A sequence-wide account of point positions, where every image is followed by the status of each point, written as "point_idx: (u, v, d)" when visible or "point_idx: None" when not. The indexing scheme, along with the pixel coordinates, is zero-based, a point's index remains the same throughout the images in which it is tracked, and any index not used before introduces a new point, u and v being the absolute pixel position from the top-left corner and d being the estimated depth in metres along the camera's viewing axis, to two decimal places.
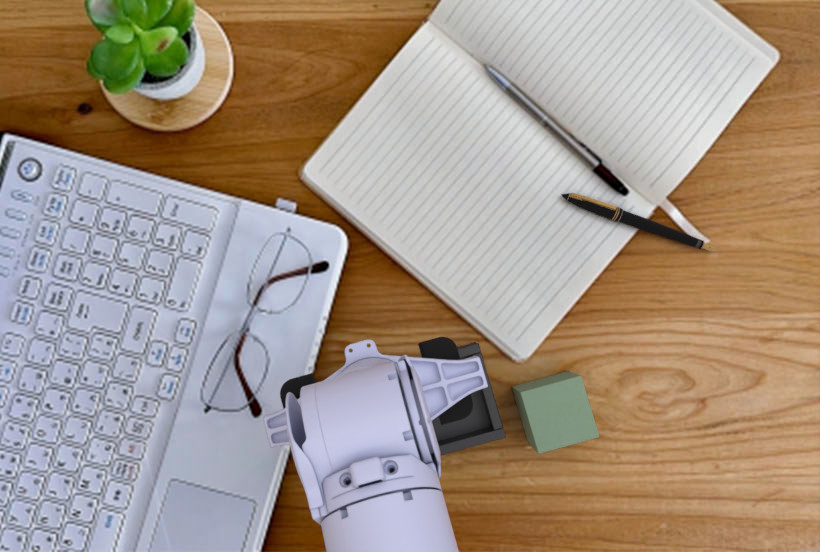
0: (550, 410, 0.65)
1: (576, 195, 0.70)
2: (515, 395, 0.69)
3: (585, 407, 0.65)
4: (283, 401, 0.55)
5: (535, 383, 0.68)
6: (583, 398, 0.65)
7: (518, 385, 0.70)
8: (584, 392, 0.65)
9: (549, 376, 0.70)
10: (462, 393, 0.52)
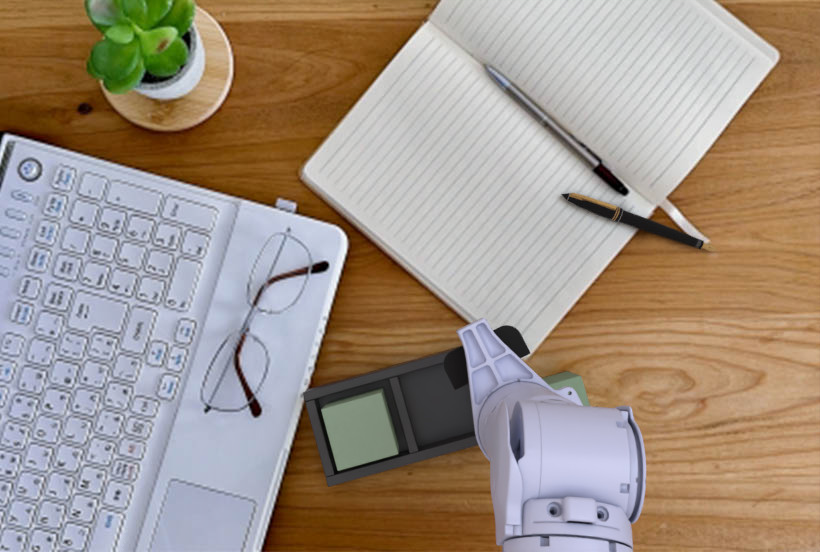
0: None
1: (576, 195, 0.70)
2: None
3: None
4: (497, 330, 0.54)
5: None
6: (583, 398, 0.65)
7: None
8: (584, 392, 0.65)
9: (549, 376, 0.70)
10: None
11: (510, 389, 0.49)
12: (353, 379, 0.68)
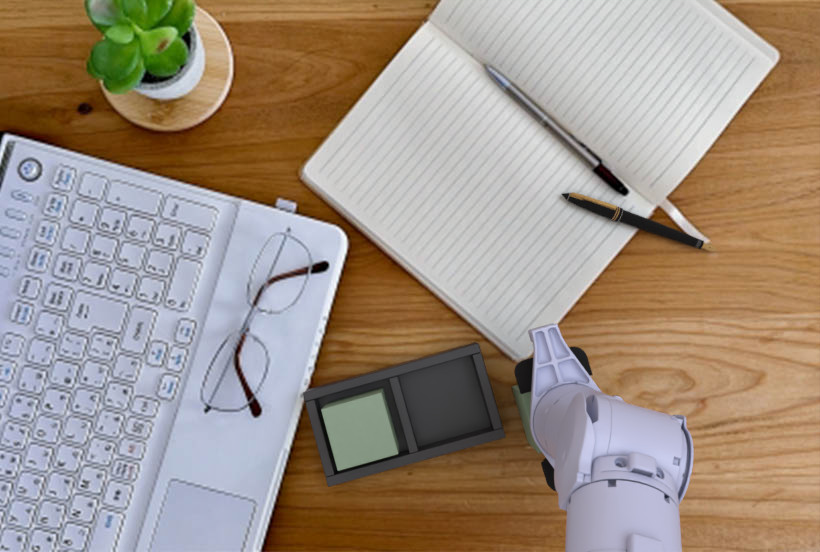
0: None
1: (576, 194, 0.70)
2: (515, 395, 0.69)
3: None
4: None
5: None
6: None
7: None
8: None
9: None
10: None
11: (571, 388, 0.57)
12: (353, 379, 0.68)
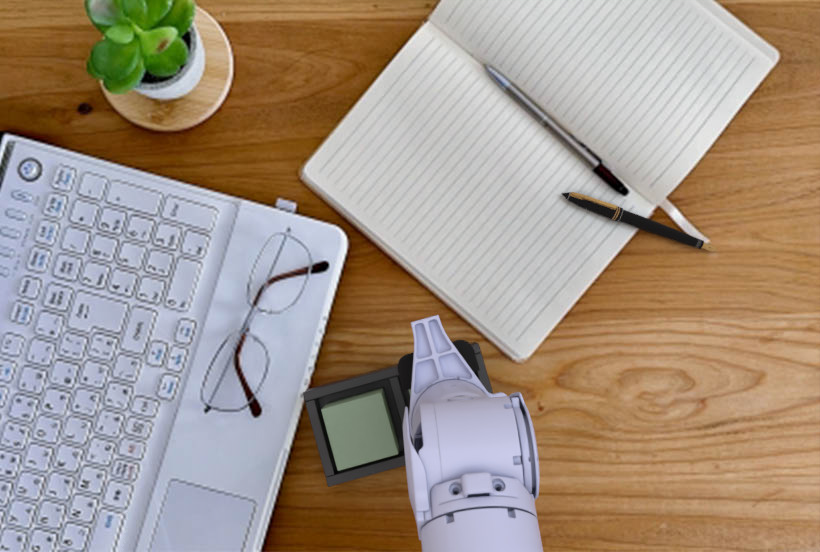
0: None
1: (576, 194, 0.70)
2: None
3: None
4: (453, 343, 0.58)
5: None
6: None
7: None
8: None
9: None
10: None
11: (446, 384, 0.53)
12: (353, 379, 0.68)
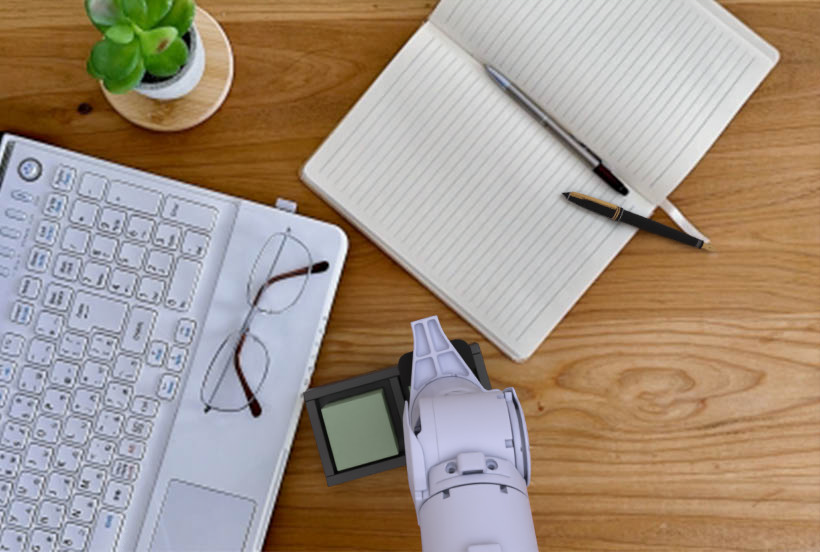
0: None
1: (577, 194, 0.70)
2: None
3: None
4: (451, 342, 0.61)
5: None
6: None
7: None
8: None
9: None
10: None
11: (444, 380, 0.56)
12: (353, 379, 0.68)
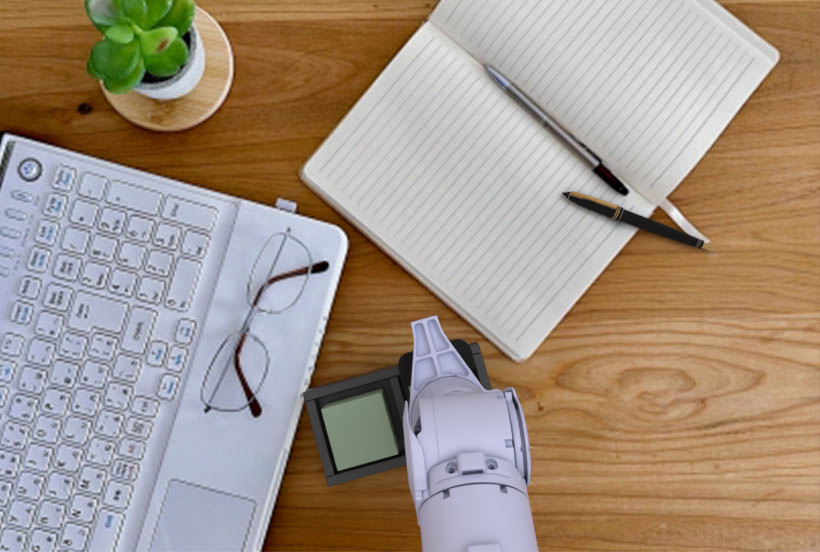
0: None
1: (577, 193, 0.70)
2: None
3: None
4: (450, 342, 0.61)
5: None
6: None
7: None
8: None
9: None
10: None
11: (444, 380, 0.56)
12: (353, 379, 0.68)
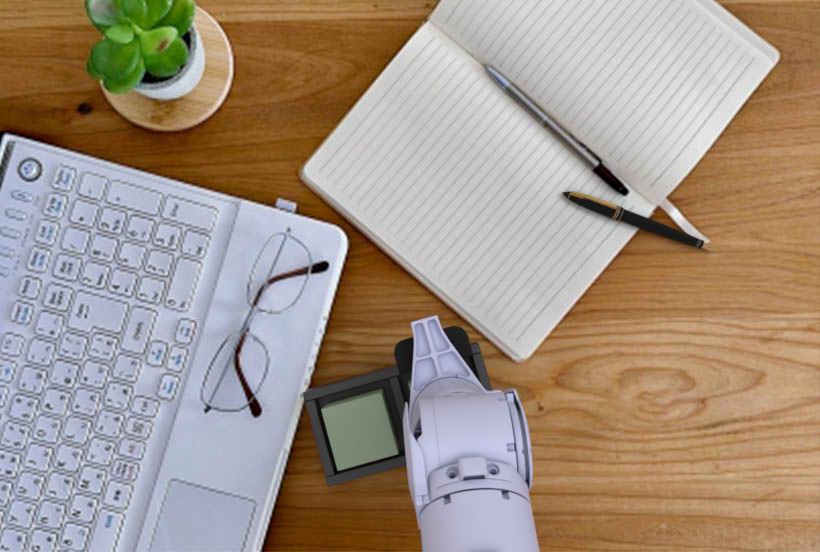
0: None
1: (577, 193, 0.70)
2: None
3: None
4: (447, 329, 0.60)
5: None
6: None
7: None
8: None
9: None
10: None
11: (444, 381, 0.55)
12: (353, 379, 0.68)
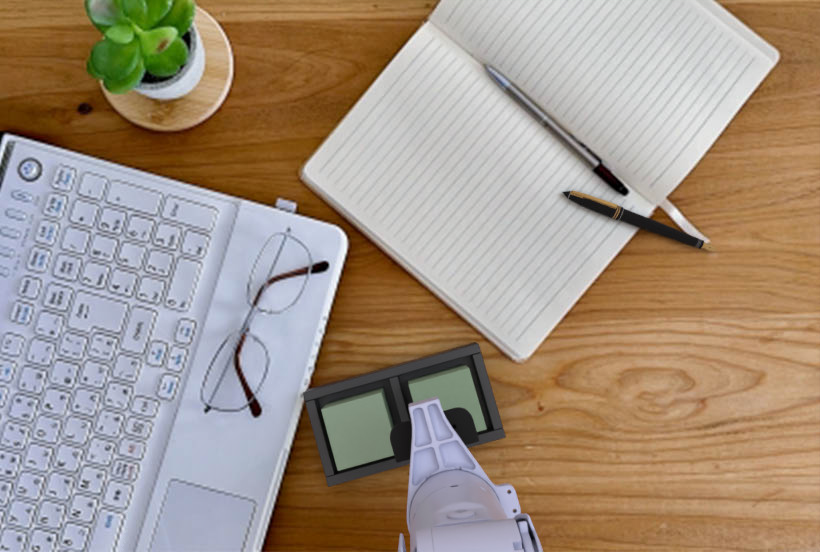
0: None
1: (577, 193, 0.70)
2: None
3: (472, 399, 0.64)
4: (450, 411, 0.53)
5: (428, 376, 0.68)
6: (471, 390, 0.65)
7: (414, 378, 0.70)
8: (472, 384, 0.65)
9: (445, 369, 0.70)
10: None
11: (447, 480, 0.48)
12: (353, 379, 0.68)
